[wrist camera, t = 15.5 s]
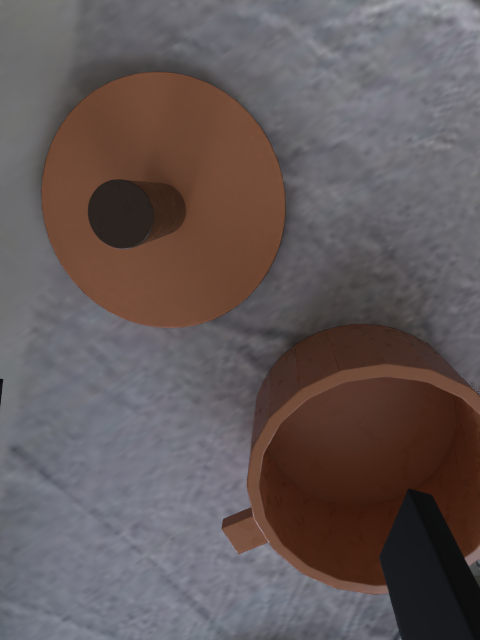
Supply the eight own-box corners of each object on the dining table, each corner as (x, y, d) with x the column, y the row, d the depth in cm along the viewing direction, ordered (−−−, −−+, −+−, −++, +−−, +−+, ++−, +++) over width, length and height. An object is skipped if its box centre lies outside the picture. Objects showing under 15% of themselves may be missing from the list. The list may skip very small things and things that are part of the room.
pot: (189, 395, 37) (164, 453, 29) (446, 268, 32) (503, 293, 24) (284, 546, 40) (286, 636, 32) (529, 449, 35) (604, 526, 27)
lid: (3, 161, 33) (-107, 149, 23) (206, 21, 29) (173, -61, 20) (131, 360, 36) (80, 417, 27) (327, 256, 33) (347, 281, 23)
